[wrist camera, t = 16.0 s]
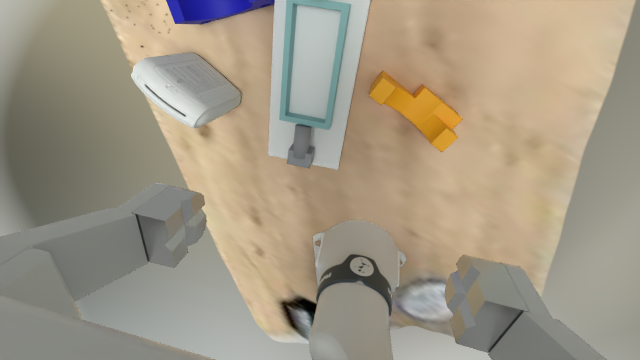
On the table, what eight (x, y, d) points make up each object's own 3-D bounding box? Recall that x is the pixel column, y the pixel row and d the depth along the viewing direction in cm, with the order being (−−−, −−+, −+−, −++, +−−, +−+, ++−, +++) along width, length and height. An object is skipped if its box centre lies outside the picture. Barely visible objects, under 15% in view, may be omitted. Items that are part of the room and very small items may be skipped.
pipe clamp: (457, 112, 39) (469, 126, 33) (433, 135, 41) (442, 152, 35) (391, 59, 37) (393, 64, 31) (370, 86, 39) (369, 95, 34)
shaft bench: (338, 165, 46) (332, 187, 40) (271, 151, 47) (254, 169, 41) (383, -67, 31) (384, -90, 25) (282, -79, 32) (258, -104, 26)
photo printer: (181, 69, 43) (116, 83, 33) (192, 46, 41) (127, 53, 31) (233, 113, 45) (188, 139, 35) (246, 93, 43) (202, 115, 33)
